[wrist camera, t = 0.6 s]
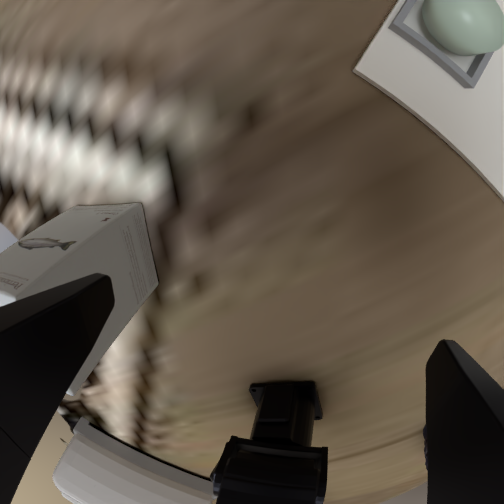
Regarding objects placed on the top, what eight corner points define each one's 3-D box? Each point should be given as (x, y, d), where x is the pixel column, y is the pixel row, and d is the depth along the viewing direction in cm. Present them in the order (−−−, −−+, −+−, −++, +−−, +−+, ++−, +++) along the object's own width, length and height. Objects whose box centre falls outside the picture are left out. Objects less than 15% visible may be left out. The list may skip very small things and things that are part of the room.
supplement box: (143, 199, 21) (15, 298, 10) (161, 285, 25) (75, 402, 14) (74, 202, 23) (-40, 279, 12) (95, 277, 26) (8, 367, 15)
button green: (469, 70, 11) (491, 68, 9) (410, 22, 10) (424, 11, 8) (494, 25, 9) (515, 19, 7) (437, -23, 8) (453, -37, 6)
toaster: (94, 458, 65) (70, 502, 50) (81, 414, 47) (40, 480, 31) (190, 502, 65) (172, 549, 50) (224, 481, 47) (199, 556, 31)
